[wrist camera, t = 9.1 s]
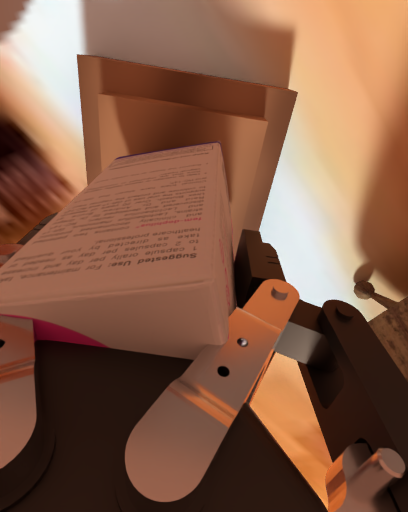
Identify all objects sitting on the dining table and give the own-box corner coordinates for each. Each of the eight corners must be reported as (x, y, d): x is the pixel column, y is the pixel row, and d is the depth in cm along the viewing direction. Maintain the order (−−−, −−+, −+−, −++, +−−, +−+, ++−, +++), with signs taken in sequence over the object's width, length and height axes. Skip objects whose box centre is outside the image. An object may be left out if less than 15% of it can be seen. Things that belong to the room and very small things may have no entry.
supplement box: (111, 156, 15) (-60, 306, 6) (221, 137, 15) (233, 272, 5) (141, 248, 18) (63, 443, 9) (233, 236, 18) (256, 434, 8)
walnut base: (288, 89, 18) (305, 94, 15) (245, 249, 25) (250, 279, 21) (93, 55, 17) (64, 53, 14) (103, 230, 24) (85, 256, 21)
